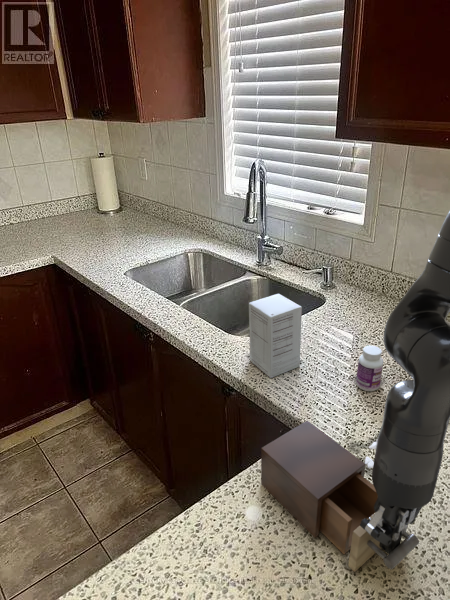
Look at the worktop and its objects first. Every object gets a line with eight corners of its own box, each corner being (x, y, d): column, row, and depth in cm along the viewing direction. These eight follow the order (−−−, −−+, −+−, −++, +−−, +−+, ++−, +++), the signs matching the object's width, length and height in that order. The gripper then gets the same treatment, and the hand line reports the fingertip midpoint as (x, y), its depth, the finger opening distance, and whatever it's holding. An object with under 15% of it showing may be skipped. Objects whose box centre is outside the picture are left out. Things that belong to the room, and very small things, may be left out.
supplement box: (301, 366, 111) (303, 306, 103) (270, 379, 107) (271, 317, 99) (277, 349, 118) (278, 292, 111) (248, 360, 114) (247, 301, 107)
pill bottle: (375, 395, 100) (381, 359, 96) (352, 387, 103) (356, 352, 99) (382, 382, 104) (387, 347, 100) (360, 375, 107) (364, 341, 102)
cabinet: (359, 506, 75) (365, 463, 70) (314, 543, 69) (318, 499, 65) (304, 460, 84) (307, 420, 80) (260, 489, 79) (261, 447, 74)
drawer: (421, 557, 66) (430, 521, 62) (380, 598, 61) (387, 562, 57) (337, 486, 77) (340, 453, 74) (297, 516, 72) (299, 482, 69)
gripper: (400, 507, 50) (381, 599, 58) (464, 452, 56) (439, 541, 64) (347, 466, 55) (337, 555, 63) (411, 420, 62) (394, 505, 70)
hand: (388, 548), depth 64 cm, fingers closed
